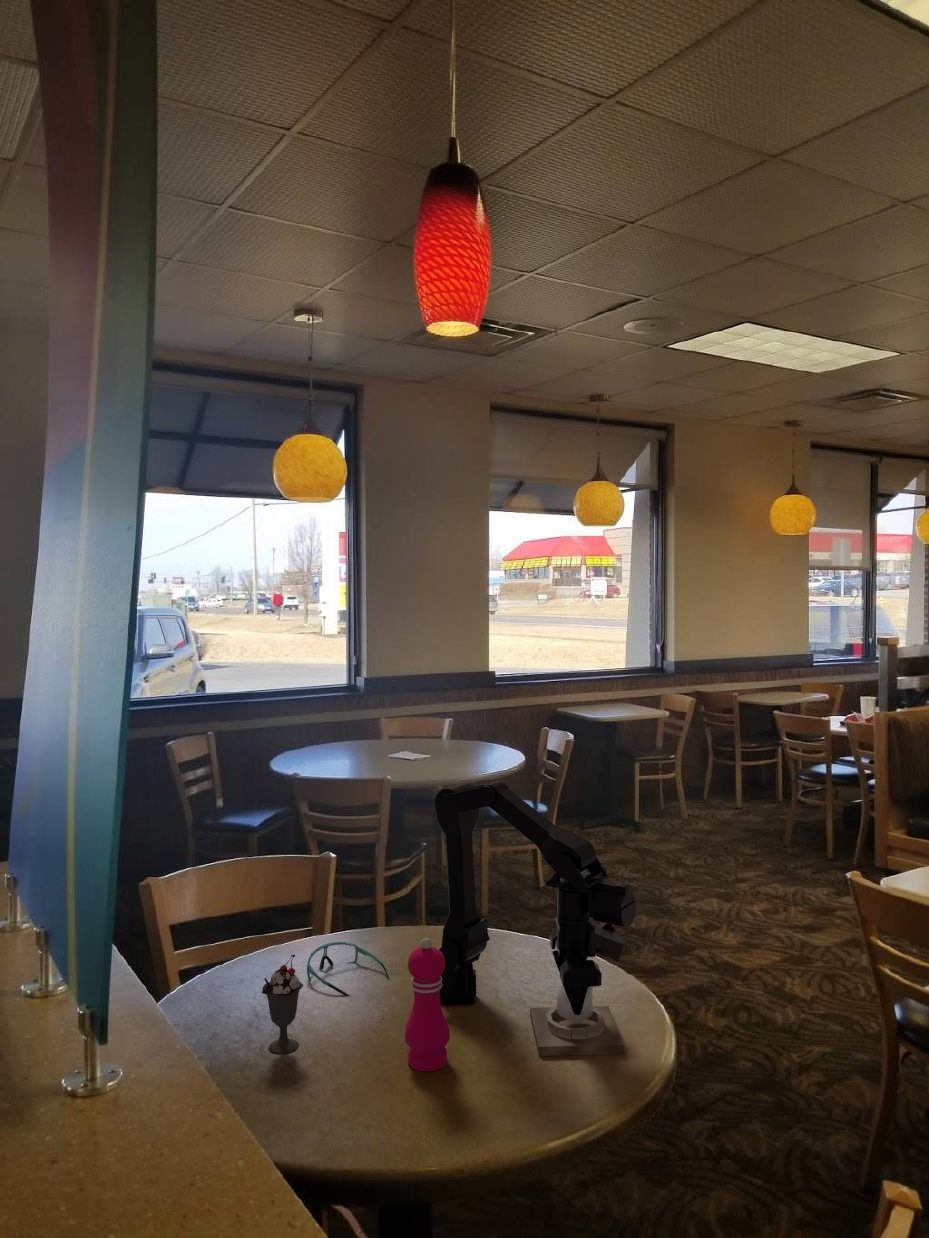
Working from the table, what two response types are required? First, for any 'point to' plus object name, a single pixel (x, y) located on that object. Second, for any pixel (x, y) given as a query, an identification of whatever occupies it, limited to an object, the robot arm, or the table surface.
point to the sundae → (283, 1005)
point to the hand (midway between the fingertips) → (574, 1005)
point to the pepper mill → (426, 1010)
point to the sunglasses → (312, 972)
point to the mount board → (575, 1033)
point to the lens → (565, 1007)
